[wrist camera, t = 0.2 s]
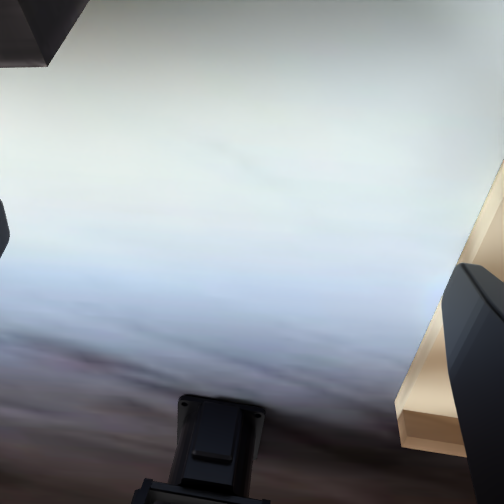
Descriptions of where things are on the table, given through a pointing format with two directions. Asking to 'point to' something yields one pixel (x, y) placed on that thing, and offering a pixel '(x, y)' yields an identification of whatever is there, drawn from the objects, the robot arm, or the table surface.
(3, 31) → the picture frame
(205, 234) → the table surface
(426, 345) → the ledge
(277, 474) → the table surface
